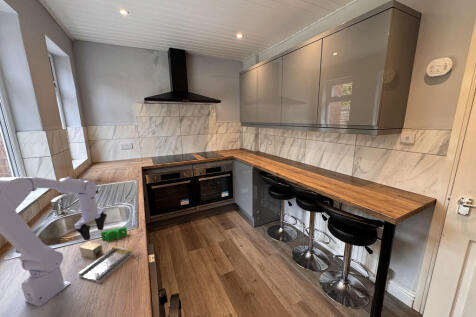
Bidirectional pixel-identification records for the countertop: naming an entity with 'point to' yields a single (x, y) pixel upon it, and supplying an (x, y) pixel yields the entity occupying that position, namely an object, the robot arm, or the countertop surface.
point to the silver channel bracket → (106, 264)
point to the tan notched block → (91, 250)
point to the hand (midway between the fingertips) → (94, 234)
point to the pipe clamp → (113, 234)
